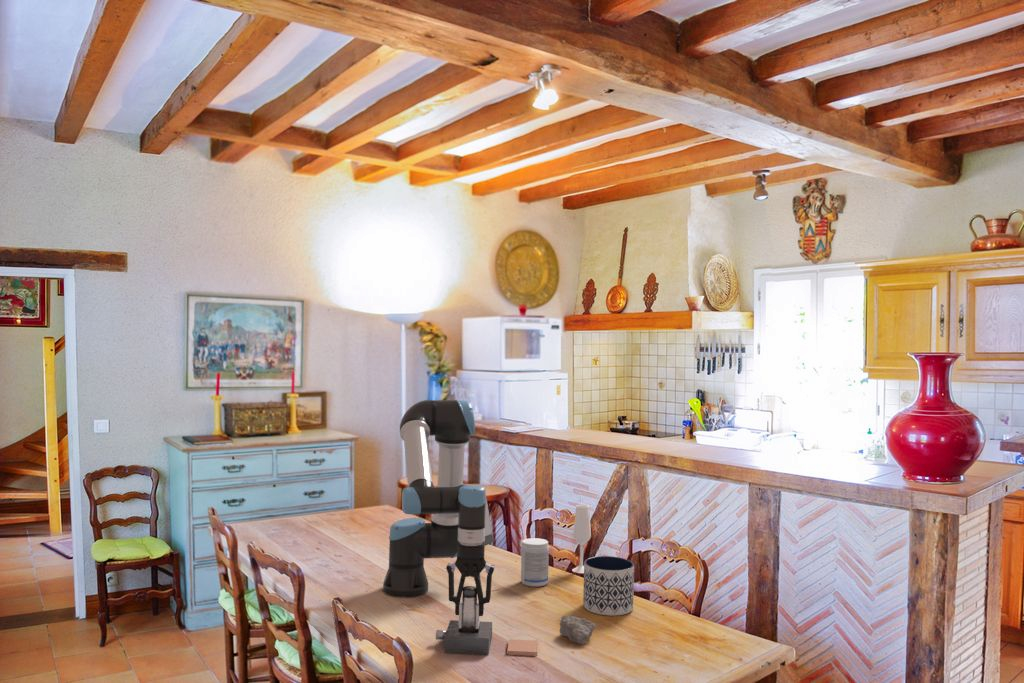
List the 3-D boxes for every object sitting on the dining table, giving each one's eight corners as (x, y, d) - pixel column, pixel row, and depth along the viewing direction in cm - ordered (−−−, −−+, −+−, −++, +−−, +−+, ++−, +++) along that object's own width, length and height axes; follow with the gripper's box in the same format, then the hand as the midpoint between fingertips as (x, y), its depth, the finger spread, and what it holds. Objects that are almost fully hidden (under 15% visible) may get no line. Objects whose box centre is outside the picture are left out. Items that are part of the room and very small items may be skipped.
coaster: (507, 654, 205) (507, 650, 205) (508, 642, 213) (508, 639, 213) (537, 655, 204) (537, 652, 204) (537, 644, 212) (537, 640, 212)
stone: (553, 639, 216) (553, 619, 216) (566, 631, 223) (566, 611, 223) (584, 647, 211) (585, 626, 211) (596, 638, 218) (597, 618, 218)
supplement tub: (553, 584, 265) (554, 542, 265) (531, 589, 260) (532, 546, 260) (537, 577, 273) (538, 536, 273) (515, 581, 268) (516, 539, 268)
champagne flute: (585, 574, 278) (586, 508, 278) (568, 571, 281) (570, 506, 281) (593, 570, 284) (594, 505, 284) (577, 566, 287) (578, 503, 287)
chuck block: (432, 652, 205) (433, 635, 205) (439, 635, 217) (439, 619, 217) (488, 655, 204) (488, 638, 204) (491, 637, 216) (492, 622, 216)
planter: (601, 619, 232) (602, 572, 232) (573, 603, 247) (574, 559, 247) (643, 612, 240) (644, 566, 240) (614, 597, 254) (615, 553, 254)
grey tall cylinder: (460, 641, 208) (461, 590, 208) (462, 635, 212) (463, 585, 212) (475, 642, 208) (476, 591, 208) (476, 636, 212) (477, 586, 212)
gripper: (438, 544, 207) (436, 630, 207) (500, 547, 206) (498, 633, 206) (442, 537, 215) (440, 620, 215) (502, 540, 214) (500, 623, 214)
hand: (469, 626), depth 210 cm, fingers closed on grey tall cylinder, 4 cm apart
